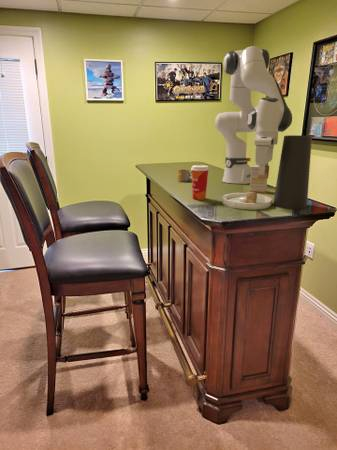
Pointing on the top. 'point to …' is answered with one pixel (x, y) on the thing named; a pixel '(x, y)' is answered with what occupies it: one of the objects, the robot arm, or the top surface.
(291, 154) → the vase
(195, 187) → the coffee cup
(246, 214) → the top surface
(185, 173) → the mug
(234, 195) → the tray
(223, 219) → the top surface
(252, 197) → the tan egg
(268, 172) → the brown egg
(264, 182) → the supplement box
